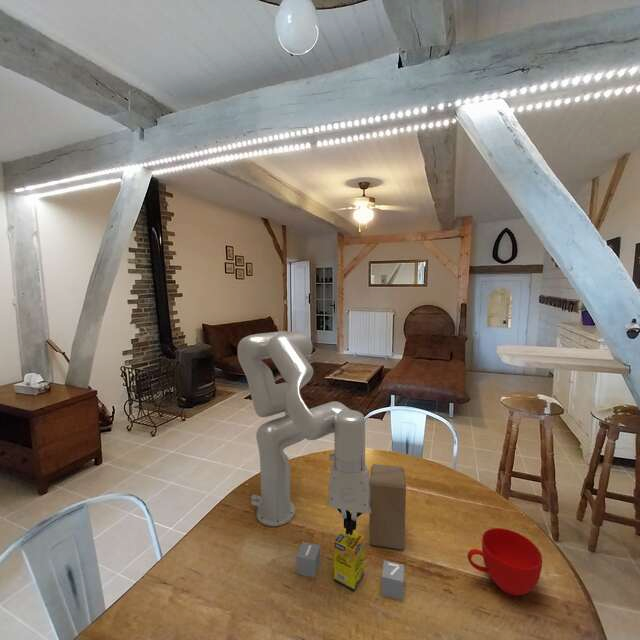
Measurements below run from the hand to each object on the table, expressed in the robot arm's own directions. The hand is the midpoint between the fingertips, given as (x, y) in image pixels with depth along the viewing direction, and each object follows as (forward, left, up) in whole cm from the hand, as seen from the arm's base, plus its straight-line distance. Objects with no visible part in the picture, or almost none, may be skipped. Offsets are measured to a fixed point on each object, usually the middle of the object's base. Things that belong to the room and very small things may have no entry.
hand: (350, 530), depth 83 cm
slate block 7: (+11, 0, -13) cm, 17 cm away
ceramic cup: (+37, +9, -13) cm, 40 cm away
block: (+8, +17, -13) cm, 23 cm away
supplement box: (0, 0, -13) cm, 13 cm away
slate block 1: (-11, 0, -13) cm, 17 cm away
